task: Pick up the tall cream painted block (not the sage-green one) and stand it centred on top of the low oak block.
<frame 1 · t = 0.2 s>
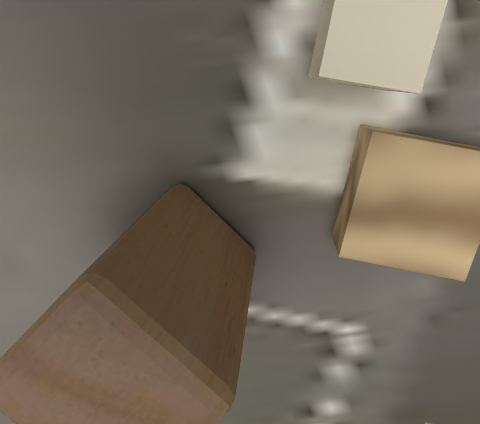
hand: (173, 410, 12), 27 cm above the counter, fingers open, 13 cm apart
wooden block: (186, 248, 40), on the counter
oak base: (402, 192, 37), on the counter
cream block: (354, 44, 33), on the counter
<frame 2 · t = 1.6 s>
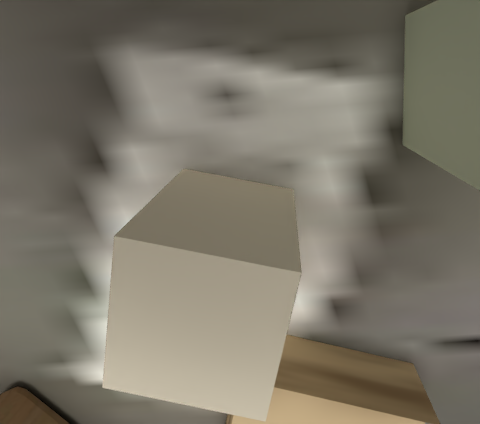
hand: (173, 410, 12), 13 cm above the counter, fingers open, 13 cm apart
oak base: (309, 406, 27), on the counter
sage block: (469, 76, 20), on the counter
cream block: (229, 230, 24), on the counter
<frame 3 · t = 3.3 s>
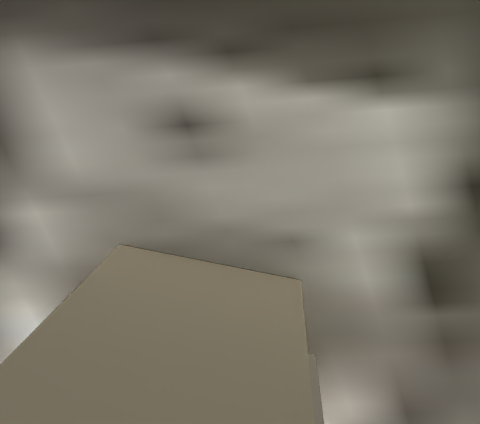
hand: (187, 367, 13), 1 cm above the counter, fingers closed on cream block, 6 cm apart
cream block: (196, 340, 15), on the counter, touching gripper
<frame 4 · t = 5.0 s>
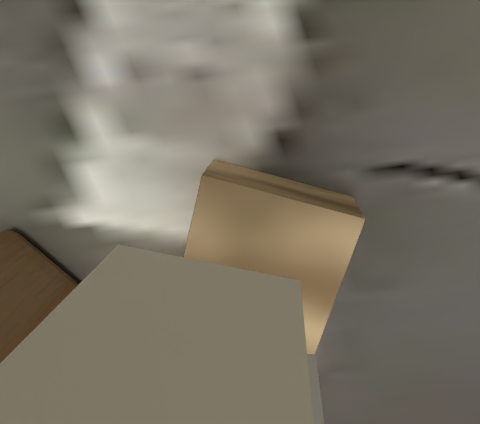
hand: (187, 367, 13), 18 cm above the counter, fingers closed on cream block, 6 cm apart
wooden block: (30, 300, 35), on the counter
oak base: (264, 240, 31), on the counter
cream block: (195, 340, 15), point 17 cm above the counter, touching gripper
when the fingers open (9 cm above the counter, at t = 6.7 s): cream block drops 3 cm, resting on oak base.
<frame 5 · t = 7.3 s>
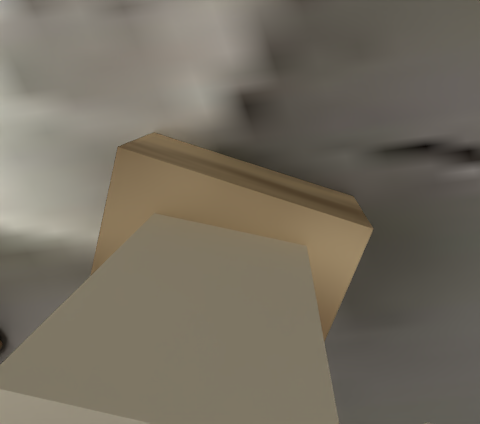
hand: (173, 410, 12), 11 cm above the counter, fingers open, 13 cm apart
oak base: (225, 253, 22), on the counter, touching cream block
cream block: (216, 297, 17), point 5 cm above the counter, touching oak base
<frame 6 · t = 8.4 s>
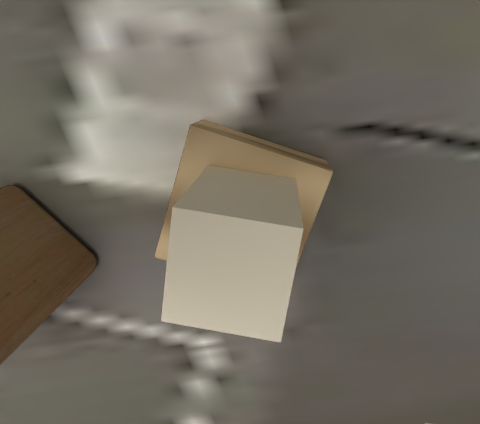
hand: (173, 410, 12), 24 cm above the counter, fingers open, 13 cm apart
wooden block: (29, 254, 38), on the counter
oak base: (245, 198, 34), on the counter, touching cream block
cream block: (245, 213, 29), point 5 cm above the counter, touching oak base
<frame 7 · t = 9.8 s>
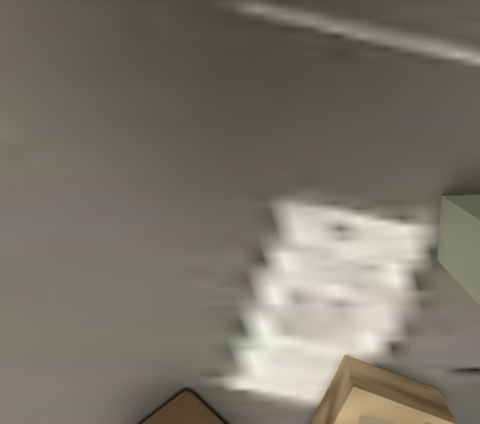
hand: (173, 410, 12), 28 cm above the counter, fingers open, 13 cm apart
oak base: (369, 408, 44), on the counter, touching cream block
sage block: (474, 227, 38), on the counter
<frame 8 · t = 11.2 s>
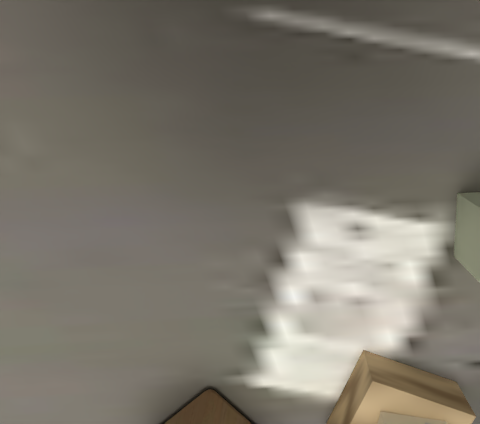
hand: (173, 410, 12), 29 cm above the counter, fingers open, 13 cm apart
oak base: (388, 401, 45), on the counter, touching cream block
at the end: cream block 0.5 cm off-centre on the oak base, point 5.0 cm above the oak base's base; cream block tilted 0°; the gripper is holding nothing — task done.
